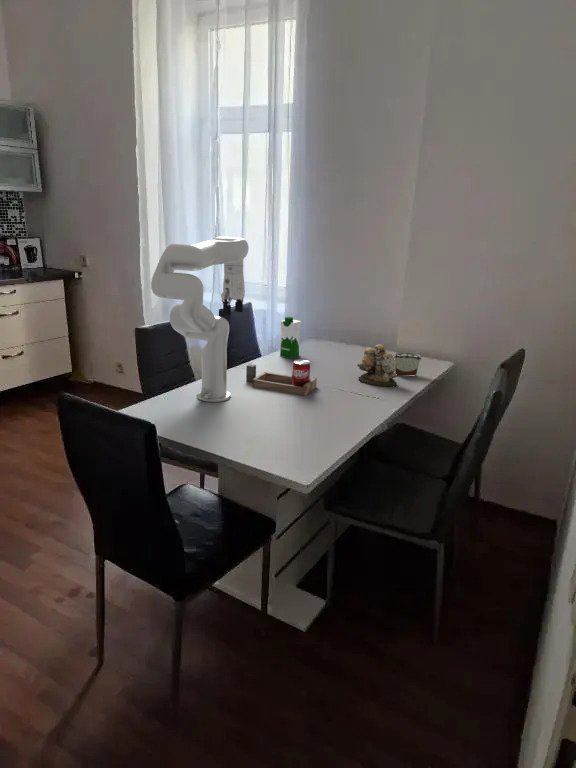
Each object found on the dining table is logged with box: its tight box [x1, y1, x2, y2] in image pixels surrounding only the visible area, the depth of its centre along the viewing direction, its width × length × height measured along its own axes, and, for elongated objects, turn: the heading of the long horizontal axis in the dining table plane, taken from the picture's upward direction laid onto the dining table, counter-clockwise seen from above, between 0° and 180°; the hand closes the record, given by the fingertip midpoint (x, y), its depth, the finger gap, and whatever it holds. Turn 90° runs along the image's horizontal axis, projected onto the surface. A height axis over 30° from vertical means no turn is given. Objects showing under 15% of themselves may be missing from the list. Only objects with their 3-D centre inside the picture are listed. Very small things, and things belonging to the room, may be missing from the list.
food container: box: [393, 351, 422, 376], centre depth 242 cm, size 12×6×10 cm, turn 84°
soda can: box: [291, 359, 312, 387], centre depth 214 cm, size 7×7×12 cm
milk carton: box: [279, 316, 302, 359], centre depth 264 cm, size 9×9×20 cm
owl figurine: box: [356, 343, 398, 388], centre depth 227 cm, size 18×12×17 cm, turn 65°
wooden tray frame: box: [245, 363, 318, 396], centre depth 218 cm, size 12×29×7 cm, turn 68°
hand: (233, 313), depth 211 cm, fingers open, 9 cm apart
